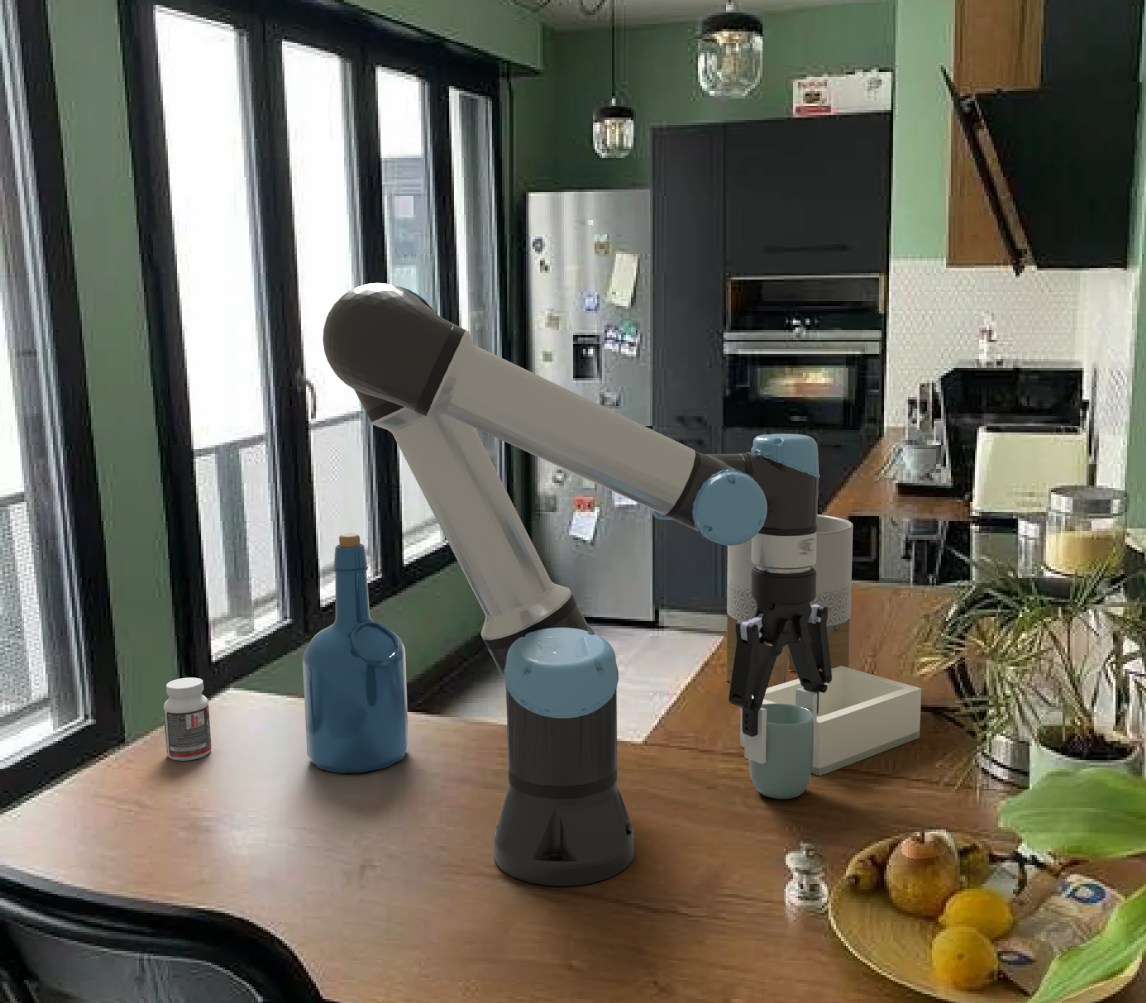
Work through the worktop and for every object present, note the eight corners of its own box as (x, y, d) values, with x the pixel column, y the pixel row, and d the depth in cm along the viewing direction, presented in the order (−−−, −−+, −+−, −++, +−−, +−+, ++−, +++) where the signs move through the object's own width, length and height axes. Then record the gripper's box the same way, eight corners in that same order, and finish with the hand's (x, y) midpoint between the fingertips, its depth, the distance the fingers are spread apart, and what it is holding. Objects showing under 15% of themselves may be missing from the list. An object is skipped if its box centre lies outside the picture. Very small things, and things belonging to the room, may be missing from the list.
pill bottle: (219, 753, 152) (215, 682, 151) (180, 765, 148) (175, 692, 147) (198, 743, 156) (193, 673, 155) (159, 754, 152) (154, 683, 151)
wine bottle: (287, 759, 150) (275, 536, 145) (368, 732, 159) (360, 522, 155) (349, 786, 141) (338, 549, 136) (431, 756, 150) (424, 533, 146)
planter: (842, 710, 166) (846, 536, 162) (715, 698, 172) (716, 530, 168) (853, 673, 184) (858, 515, 180) (738, 663, 190) (740, 510, 186)
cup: (812, 808, 133) (814, 726, 131) (745, 803, 134) (746, 722, 133) (812, 782, 140) (814, 704, 139) (749, 778, 142) (750, 701, 140)
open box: (818, 776, 142) (820, 722, 141) (740, 746, 153) (740, 696, 152) (919, 737, 155) (921, 688, 154) (840, 712, 165) (841, 665, 164)
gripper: (745, 585, 124) (742, 782, 127) (866, 559, 137) (861, 739, 140) (696, 574, 130) (695, 763, 133) (817, 550, 142) (813, 723, 146)
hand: (780, 750), depth 137 cm, fingers open, 8 cm apart
